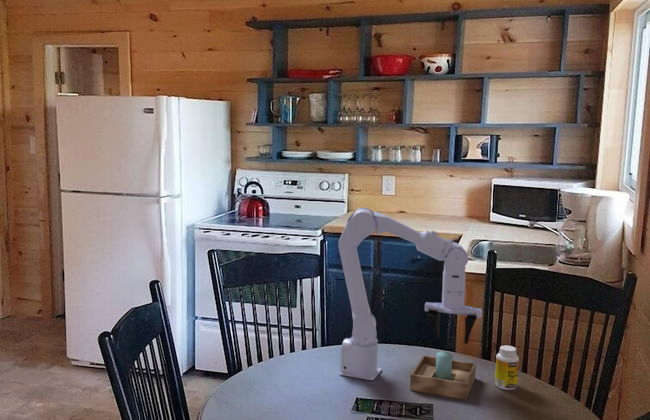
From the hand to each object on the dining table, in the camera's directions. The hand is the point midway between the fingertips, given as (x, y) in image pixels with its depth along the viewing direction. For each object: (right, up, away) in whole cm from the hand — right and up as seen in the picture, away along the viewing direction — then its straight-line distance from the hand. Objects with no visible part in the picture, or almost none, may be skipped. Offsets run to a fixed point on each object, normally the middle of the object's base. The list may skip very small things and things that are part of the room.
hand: (451, 340), depth 156 cm
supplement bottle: (+13, -11, -4) cm, 18 cm away
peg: (-3, -11, -3) cm, 11 cm away
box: (-3, -11, -3) cm, 11 cm away
